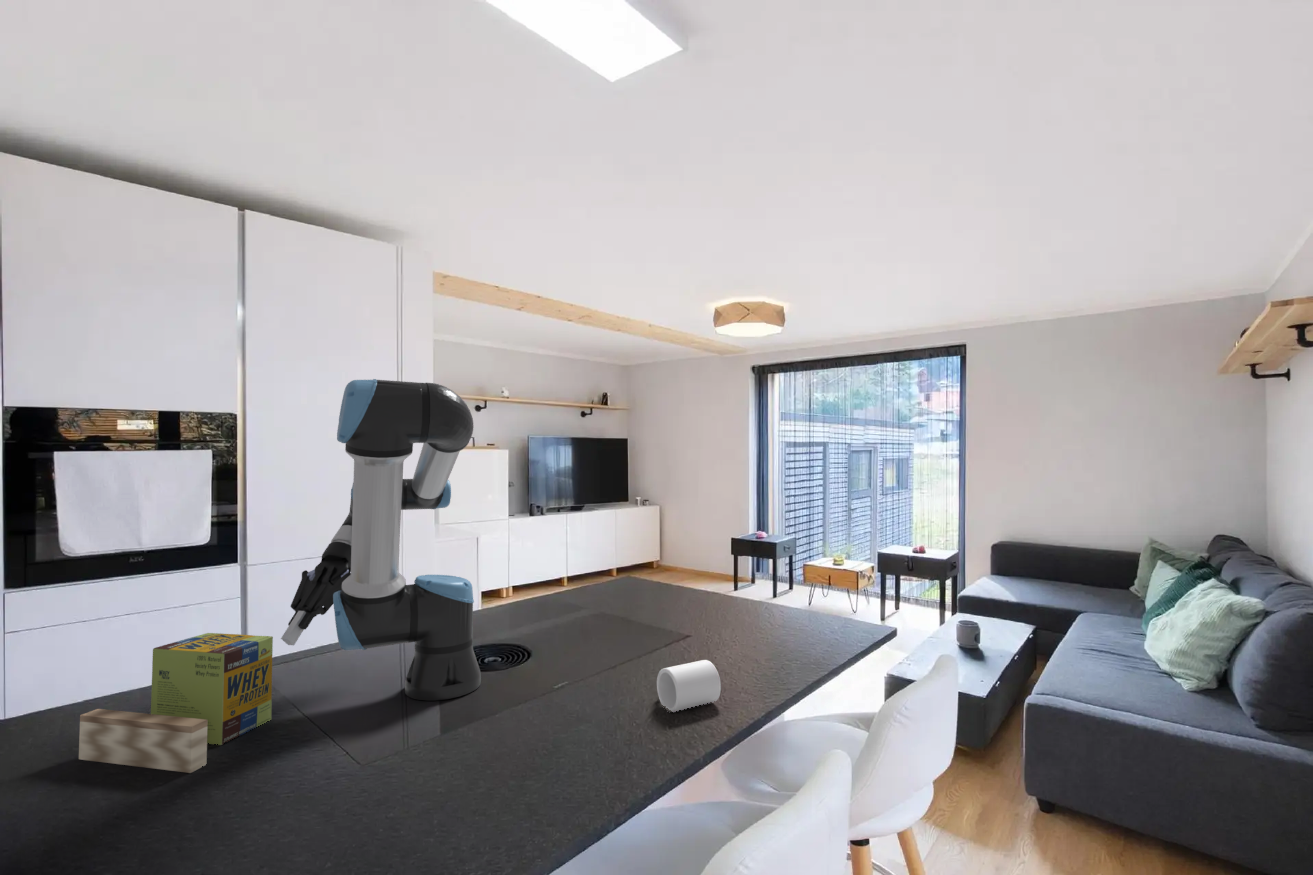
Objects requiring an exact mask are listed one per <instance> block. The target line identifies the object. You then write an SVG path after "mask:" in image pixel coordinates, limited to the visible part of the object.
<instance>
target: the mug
mask: <svg viewBox="0 0 1313 875" xmlns="http://www.w3.org/2000/svg"><path fill="white" fill-rule="evenodd" d="M719 674H720V673H719V672H718V670H717V668H716V667H715V665H714V663H712V662H711V661H710V660H708V659H701V660H697V661H692V662H688V663H681V664H678V665H673V666H669V667H668V666H667V667H664V668H661V669H659V672H658V673H657V678H656V690H657V691H656V692H657V695H658V699H659V702H660V704H661V705H663V706H666V708H668V709H669V710H671V711H672V712H673V713H676V711H677V712H679V710H681V711H685V710H687V708H689V709H692V708H691V707H693V708H696V707H695V706H697V707H700V706H699V705H701V706H704V705H708V704H711V703H710V702H712V703H715V702H716V701H718V700H719V698H720V695H721V689H722V685H721V678H720V675H719ZM714 701H715V702H714ZM707 703H708V704H707ZM703 704H704V705H703ZM663 706H662V707H663ZM684 709H685V710H684Z"/></svg>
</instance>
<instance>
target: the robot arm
mask: <svg viewBox="0 0 1313 875" xmlns="http://www.w3.org/2000/svg"><path fill="white" fill-rule="evenodd" d="M341 400H342V401H341V404H340V410H339V411H340V412H339V417H338V425H337V430H336V431H337V433H336V440H337V442H339V443H341V444H345V446H344V447H345V450H344V451H345V453H346V454H347V455H348V456H349V457H351V458H352V459H353V480H352V487H351V490H350V505H349V512H348V515H347V516H346V518H345V519H344V522H342V525H340V527H339V529H338V530H337V531H336V533H335V535H334V536H333V537H332V539H331V541H330V543H328V545H327V546H326V548H325V549H324V551H323V553H322V554H321V561H320V562H319V563H318V564H317V565H316V566H315V568H314V569H312V570H310V571H308V570H303V571H301V580H300V582H299V584H298V588H297V590H296V592H295V594H294V596H293V598H292V602H291V604H290V608H291V609H292V610H293V611H294V615H293V616H291V618H290V620H289V621H288V627H287V628H286V630H285V631H284V633H283V634H282V636H281V638H280V640H282V641H283V642H284V643H285V644H286V645H288V646H295V645H296V643H297V642H298V640H299V638H300V637H301V635H302V633H303V632H304V630H307V628H308V627H309V626H310V624H311V622H312V621H313V619H314V618H315V617H317V616H318V615H321V616H323V615H325V614H326V613H328V611H329V610H330V608H332V607H333V609H334V610H333V611H334V621H335V622H334V623H335V628H336V636H337V641H338V646H339V647H340V648H341V649H342V650H344V651H356V650H357V651H358V650H363V651H365V650H367V649H372V648H373V649H374V648H381V647H386V646H395V645H401V644H409V643H414V654H413V656H412V660H411V662H410V663H411V664H410V666H409V668H408V672H407V675H406V678H405V681H404V694H405V695H406V696H407V697H409V698H411V699H414V700H419V701H443V700H449V699H454V698H459V697H462V696H465V695H468V694H470V693H472V692H474V691H476V690H477V689H479V687H480V686H481V684H482V682H481V681H482V679H481V678H482V677H481V676H482V673H481V669H480V666H479V663H478V661H477V657H476V654H475V651H474V647H473V646H474V645H473V636H474V634H473V632H474V631H473V626H474V624H473V622H474V620H473V619H474V618H473V616H474V614H473V612H474V603H475V601H474V593H473V585H472V583H471V581H470V580H469V579H467V578H464V577H461V576H456V575H449V574H448V575H447V574H421V575H418V576H416V577H415V579H414V583H413V584H407V583H406V582H407V580H406V578H405V576H404V575H403V574H401V573H400V572H399V561H400V540H401V539H400V538H401V518H402V511H403V510H405V511H410V510H412V511H413V510H436V509H446V508H447V507H449V505H450V503H451V498H452V487H451V481H450V480H449V478H450V475H451V473H452V471H453V468H454V465H455V463H456V461H457V459H458V457H459V454H460V452H461V451H463V450H464V449H465V448H466V447H467V446H468V445H469V443H470V441H471V438H472V436H473V433H474V420H473V415H472V413H471V410H470V409H469V406H468V405H467V403H466V402H465V401H464V400H463V398H462V397H461V396H460V395H458V393H456V392H455V391H454V390H453V389H450V388H448V387H447V386H445V385H443V384H439V383H434V382H433V383H432V382H416V381H415V382H414V381H404V380H403V381H399V380H385V379H376V378H373V379H354V380H351V381H349V382H348V383H347V384H346V385H345V388H344V391H343V396H342V399H341ZM414 444H423V445H422V447H421V451H420V453H419V456H418V461H417V463H416V466H415V470H414V474H413V477H412V478H403V476H404V462H405V460H407V458H409V457H410V456H411V455H412V454H413V448H414V446H413V445H414Z"/></svg>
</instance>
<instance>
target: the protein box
mask: <svg viewBox="0 0 1313 875" xmlns="http://www.w3.org/2000/svg"><path fill="white" fill-rule="evenodd" d="M273 638H274V637H273V636H269V635H254V634H253V635H252V634H251V635H250V634H238V633H237V634H233V633H221V632H220V633H218V632H216V633H215V632H214V633H213V632H207V633H203V634H199V635H196V636H192V637H189V638H185V639H182V640H178V641H174V642H170V643H167V644H164V645H160V646H156V647H154V648H152V660H151V661H152V662H151V663H152V665H151V666H152V669H151V670H152V671H151V691H150V692H151V693H150V694H151V697H150V698H151V699H150V714H156V715H166V716H176V717H186V718H196V719H206V720H208V724H207V745H214V744H216V745H215V746H223V745H225V744H226V743H225V742H227V743H229V742H231V741H233V740H235V739H237V738H239V737H241V736H243V735H245V734H246V732H247V733H248V732H250V730H251V731H252V729H253V730H255V729H257V728H258V726H259V727H260V725H261V726H263V725H264V723H265V724H266V722H267V721H269V722H270V720H272V700H273V699H272V698H273V697H272V690H273V688H272V687H273V651H274V650H273V648H274V646H273V642H274V640H273ZM267 723H268V722H267ZM262 724H263V725H262ZM256 727H257V728H256ZM254 728H255V729H254ZM238 736H239V737H238ZM234 738H235V739H234ZM232 739H233V740H232ZM230 740H231V741H230ZM228 741H229V742H228ZM208 743H209V744H208ZM224 743H225V744H224ZM217 744H218V745H217Z"/></svg>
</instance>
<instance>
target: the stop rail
mask: <svg viewBox="0 0 1313 875" xmlns="http://www.w3.org/2000/svg"><path fill="white" fill-rule="evenodd" d="M207 724H208V720H206V719H196V718H186V717H176V716H166V715H156V714H151V713H144V712H134V711H124V710H116V709H115V710H113V709H105V708H104V709H103V708H96V709H93V710H90V711H88V712H86V713H82V714H80V716H79V739H78V740H79V741H78V760H83V761H90V762H97V763H98V762H99V763H106V764H107V763H108V764H113V765H114V764H116V765H121V766H122V765H123V766H124V765H125V766H130V767H131V766H132V767H137V768H138V767H139V768H147V769H154V770H155V769H156V770H162V771H164V770H165V771H171V772H179V773H180V772H181V773H188V774H191V773H194V772H195V771H197V770H199V769H201V768H203V767H205V766H207V765H208V764H207V761H208V760H207V758H208V744H207ZM206 764H207V765H206ZM202 766H203V767H202Z"/></svg>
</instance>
